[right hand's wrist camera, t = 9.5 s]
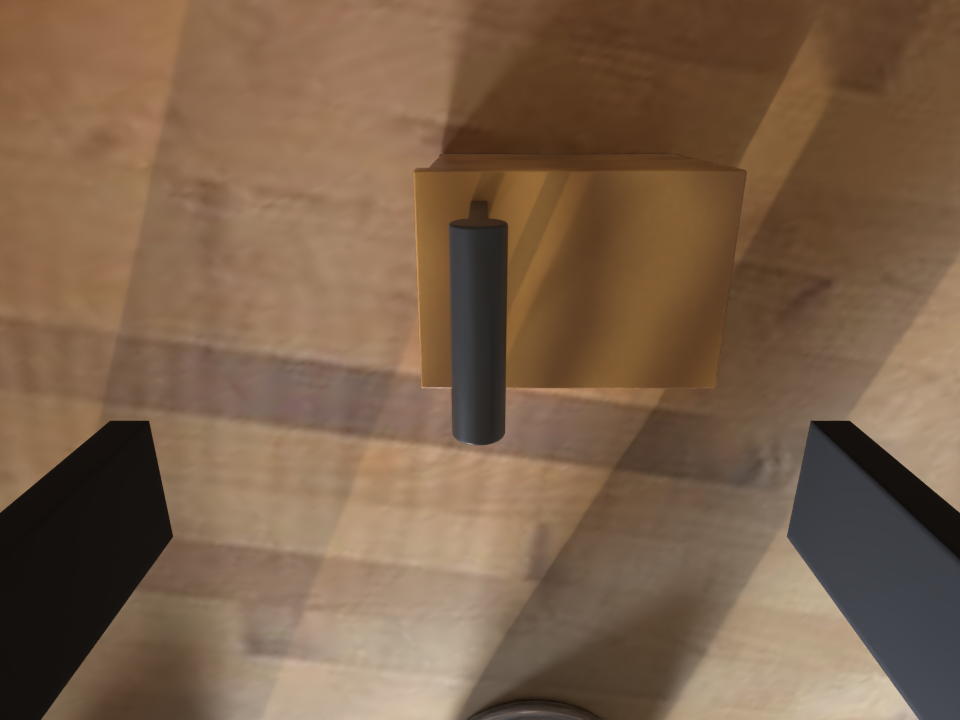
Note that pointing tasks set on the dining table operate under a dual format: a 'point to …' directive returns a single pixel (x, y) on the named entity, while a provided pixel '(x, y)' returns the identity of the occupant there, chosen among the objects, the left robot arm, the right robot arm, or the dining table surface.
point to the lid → (570, 281)
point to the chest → (570, 161)
